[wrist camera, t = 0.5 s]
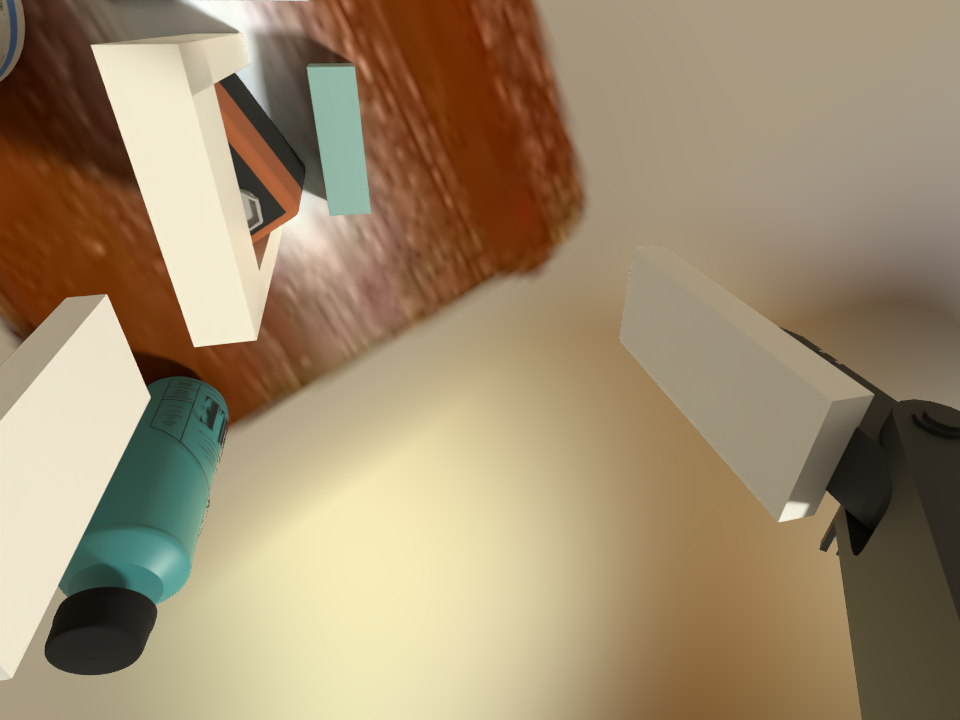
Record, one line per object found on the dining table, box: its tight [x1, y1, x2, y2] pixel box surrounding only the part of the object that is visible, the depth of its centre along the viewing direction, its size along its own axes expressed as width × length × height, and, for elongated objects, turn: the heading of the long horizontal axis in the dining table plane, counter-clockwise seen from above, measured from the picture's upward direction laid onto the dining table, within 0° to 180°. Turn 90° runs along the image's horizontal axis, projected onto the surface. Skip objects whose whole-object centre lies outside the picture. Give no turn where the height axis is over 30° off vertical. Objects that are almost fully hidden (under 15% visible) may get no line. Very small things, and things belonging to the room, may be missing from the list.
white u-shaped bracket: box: [91, 33, 283, 347], centre depth 26 cm, size 2×11×15 cm, turn 0°
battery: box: [214, 73, 305, 244], centre depth 28 cm, size 4×7×10 cm, turn 29°
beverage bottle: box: [45, 376, 230, 675], centre depth 32 cm, size 6×7×20 cm
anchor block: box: [307, 63, 371, 216], centre depth 32 cm, size 2×8×3 cm, turn 0°
